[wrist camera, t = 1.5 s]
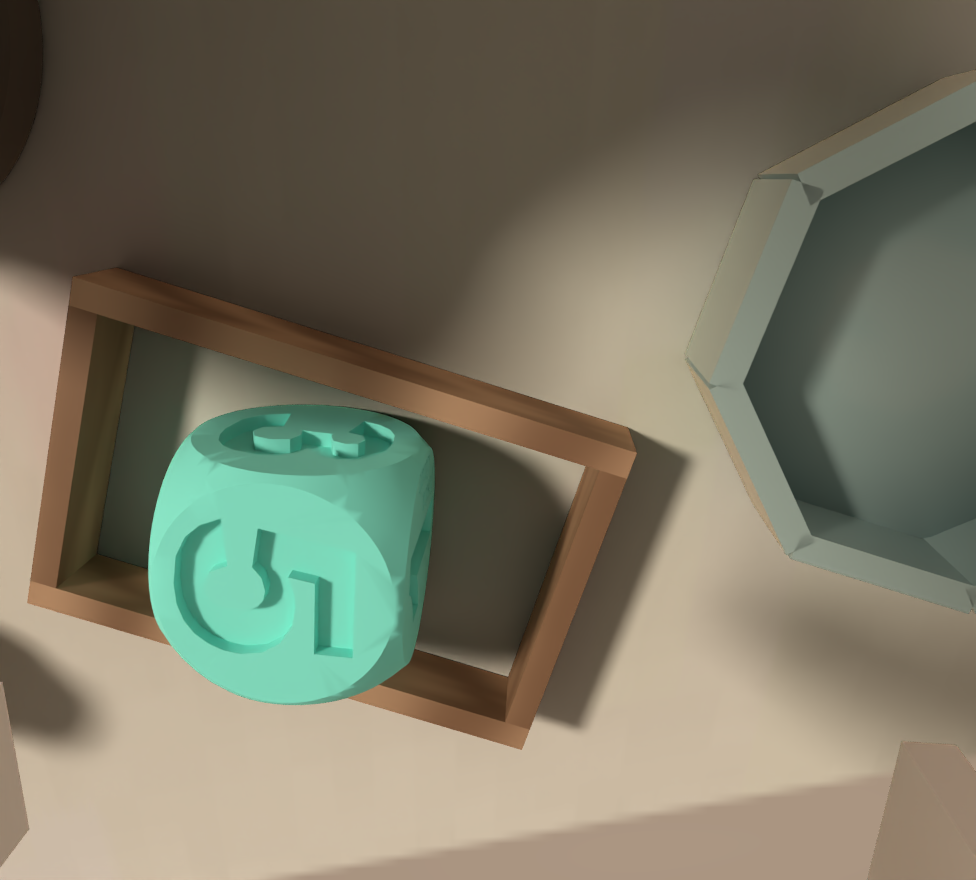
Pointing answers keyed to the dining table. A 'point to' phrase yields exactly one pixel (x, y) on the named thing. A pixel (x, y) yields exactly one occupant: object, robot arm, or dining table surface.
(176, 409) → the dining table surface
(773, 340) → the bowl
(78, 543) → the rectangular frame
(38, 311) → the dining table surface
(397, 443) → the decorative dice
